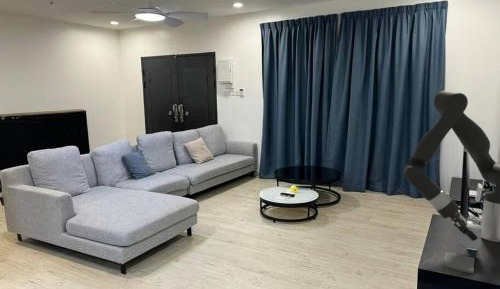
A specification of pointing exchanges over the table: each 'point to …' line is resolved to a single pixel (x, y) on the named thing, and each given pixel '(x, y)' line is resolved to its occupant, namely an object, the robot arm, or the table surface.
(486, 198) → the robot arm
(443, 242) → the table surface
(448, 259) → the rubber mat
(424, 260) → the table surface
